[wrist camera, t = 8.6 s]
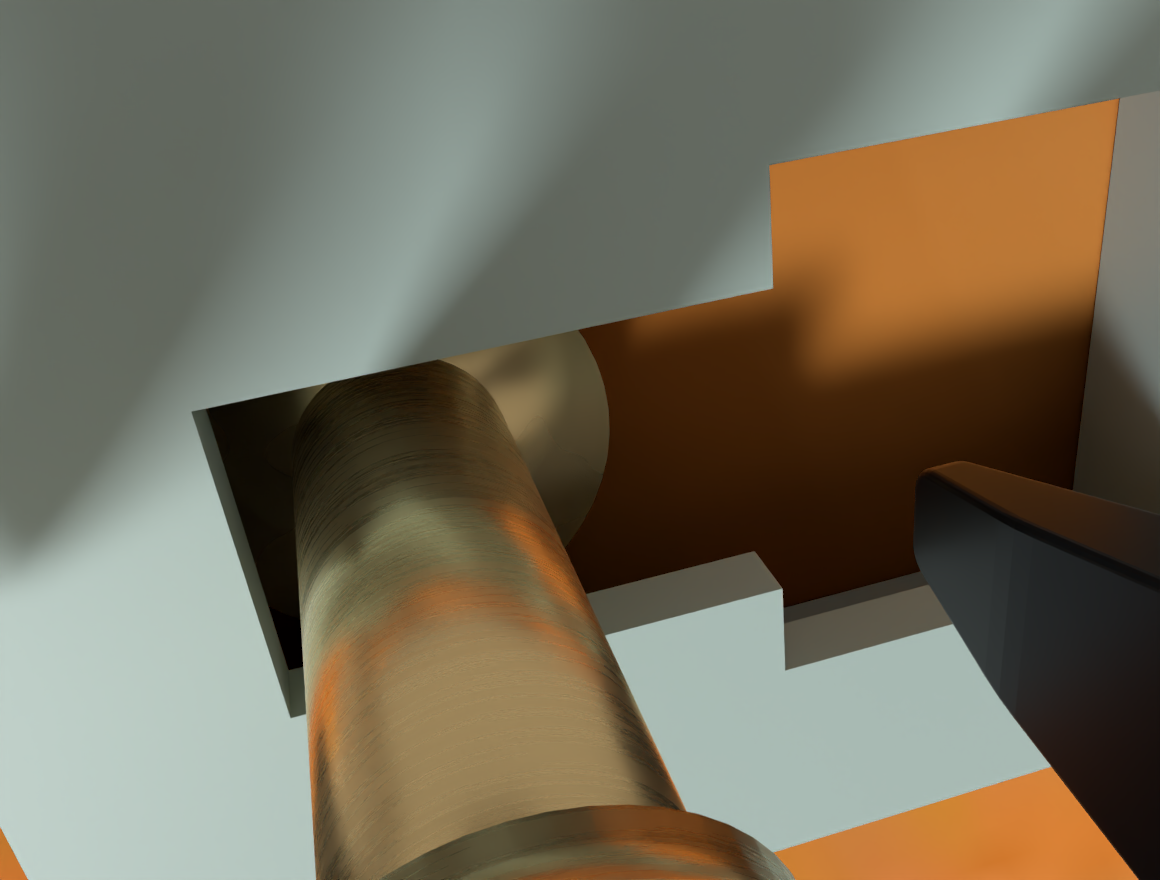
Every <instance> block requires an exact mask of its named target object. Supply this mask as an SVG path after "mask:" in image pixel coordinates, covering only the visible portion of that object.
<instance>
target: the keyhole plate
mask: <svg viewBox="0 0 1160 880" xmlns="http://www.w3.org/2000/svg"><path fill="white" fill-rule="evenodd" d="M1118 98H1120V102H1119V110H1118V118H1117V127H1116V135H1115V143H1114V152H1113V160H1112V168H1111V177H1110V185H1109V193H1108V201H1107V210H1106V218H1105V226H1104V235H1103V243H1102V251H1101V260H1100V268H1099V276H1098V284H1097V293H1096V301H1095V309H1094V318H1093V326H1092V334H1091V343H1090V351H1089V359H1088V368H1087V376H1086V384H1085V392H1084V401H1083V409H1082V417H1081V426H1080V434H1079V442H1078V451H1077V459H1076V467H1075V475H1074V484H1073V491H1076V492H1079V493H1083V494H1087V495H1090V496H1094V497H1098V498H1101V499H1105V500H1108V501H1112V502H1116V503H1119V504H1123V505H1127V506H1130V507H1134V508H1138V509H1141V510H1145V511H1148V512H1152V513H1156V514H1159V515H1160V0H0V827H1V829H2V831H3V833H4V835H5V837H6V839H7V841H8V842H9V844H10V846H11V848H12V850H13V852H14V854H15V856H16V858H17V859H18V861H19V863H20V865H21V867H22V869H23V871H24V873H25V875H26V876H27V878H28V880H316V871H315V854H314V837H313V820H312V803H311V787H310V770H309V753H308V736H307V719H306V702H305V686H304V669H303V667H300V668H296V669H292V670H288V667H287V664H286V661H285V657H284V654H283V651H282V648H281V645H280V642H279V638H278V635H277V632H276V629H275V626H274V623H273V619H272V616H271V613H270V610H269V607H268V604H267V600H266V597H265V594H264V591H263V588H262V585H261V581H260V578H259V575H258V572H257V569H256V566H255V562H254V559H253V556H252V553H251V550H250V547H249V543H248V540H247V537H246V534H245V531H244V528H243V524H242V521H241V518H240V515H239V512H238V509H237V505H236V502H235V499H234V496H233V493H232V490H231V487H230V483H229V480H228V477H227V474H226V471H225V468H224V464H223V461H222V458H221V455H220V452H219V449H218V445H217V442H216V439H215V436H214V433H213V430H212V426H211V423H210V420H209V417H208V414H207V411H206V408H211V407H216V406H220V405H225V404H230V403H235V402H239V401H244V400H249V399H253V398H258V397H263V396H268V395H272V394H277V393H282V392H286V391H291V390H296V389H301V388H305V387H310V386H315V385H320V384H324V383H329V382H334V381H338V380H343V379H348V378H353V377H357V376H362V375H367V374H371V373H376V372H381V371H386V370H390V369H395V368H400V367H404V366H409V365H414V364H419V363H423V362H428V361H433V360H437V359H442V358H447V357H452V356H456V355H461V354H466V353H470V352H475V351H480V350H485V349H489V348H494V347H499V346H503V345H508V344H513V343H518V342H522V341H527V340H532V339H536V338H541V337H546V336H551V335H555V334H560V333H565V332H569V331H574V330H579V329H584V328H588V327H593V326H598V325H603V324H607V323H612V322H617V321H621V320H626V319H631V318H636V317H640V316H645V315H650V314H654V313H659V312H664V311H669V310H673V309H678V308H683V307H687V306H692V305H697V304H702V303H706V302H711V301H716V300H720V299H725V298H730V297H735V296H739V295H744V294H749V293H753V292H758V291H763V290H768V289H772V288H773V269H772V238H771V206H770V175H769V165H772V164H777V163H783V162H788V161H793V160H798V159H804V158H809V157H814V156H819V155H825V154H830V153H835V152H840V151H846V150H851V149H856V148H861V147H867V146H872V145H877V144H882V143H887V142H893V141H898V140H903V139H908V138H914V137H919V136H924V135H929V134H935V133H940V132H945V131H950V130H956V129H961V128H966V127H971V126H977V125H982V124H987V123H992V122H998V121H1003V120H1008V119H1013V118H1018V117H1024V116H1029V115H1034V114H1039V113H1045V112H1050V111H1055V110H1060V109H1066V108H1071V107H1076V106H1081V105H1087V104H1092V103H1097V102H1102V101H1108V100H1113V99H1118ZM586 595H587V598H588V600H589V602H590V604H591V606H592V608H593V610H594V613H595V615H596V617H597V619H598V621H599V623H600V626H601V628H602V630H603V632H604V634H605V636H606V639H607V641H608V643H609V645H610V647H611V649H612V651H613V654H614V656H615V658H616V660H617V662H618V664H619V667H620V669H621V671H622V673H623V675H624V677H625V679H626V682H627V684H628V686H629V688H630V690H631V692H632V695H633V697H634V699H635V701H636V703H637V705H638V708H639V710H640V712H641V714H642V716H643V718H644V720H645V723H646V725H647V727H648V729H649V731H650V733H651V736H652V738H653V740H654V742H655V744H656V746H657V748H658V751H659V753H660V755H661V757H662V759H663V761H664V764H665V766H666V768H667V770H668V772H669V774H670V777H671V779H672V781H673V783H674V785H675V787H676V789H677V792H678V794H679V796H680V798H681V800H682V802H683V805H684V807H685V809H686V811H687V812H691V813H697V814H700V815H703V816H706V817H709V818H712V819H715V820H718V821H721V822H724V823H726V824H729V825H731V826H733V827H735V828H736V829H738V830H740V831H742V832H744V833H746V834H748V835H750V836H752V837H754V838H755V839H756V840H757V841H759V842H760V843H761V844H763V845H764V846H765V847H767V848H768V849H769V850H770V851H772V852H776V851H779V850H783V849H786V848H789V847H792V846H796V845H799V844H802V843H805V842H809V841H812V840H815V839H818V838H821V837H825V836H828V835H831V834H834V833H838V832H841V831H844V830H847V829H851V828H854V827H857V826H860V825H864V824H867V823H870V822H873V821H877V820H880V819H883V818H886V817H890V816H893V815H896V814H899V813H903V812H906V811H909V810H912V809H916V808H919V807H922V806H925V805H929V804H932V803H935V802H938V801H941V800H945V799H948V798H951V797H954V796H958V795H961V794H964V793H967V792H971V791H974V790H977V789H980V788H984V787H987V786H990V785H993V784H997V783H1000V782H1003V781H1006V780H1010V779H1013V778H1016V777H1019V776H1023V775H1026V774H1029V773H1032V772H1036V771H1039V770H1042V769H1045V768H1049V767H1051V766H1050V764H1049V763H1048V762H1047V760H1046V759H1045V758H1044V756H1043V755H1042V754H1041V753H1040V751H1039V750H1038V749H1037V747H1036V746H1035V745H1034V744H1033V742H1032V741H1031V740H1030V738H1029V737H1028V736H1027V734H1026V733H1025V732H1024V731H1023V729H1022V728H1021V727H1020V725H1019V724H1018V723H1017V722H1016V720H1015V719H1014V718H1013V716H1012V715H1011V714H1010V712H1009V711H1008V709H1007V708H1006V707H1005V705H1004V704H1003V703H1002V701H1001V700H1000V699H999V697H998V696H997V694H996V693H995V691H994V690H993V688H992V687H991V685H990V684H989V682H988V680H987V679H986V677H985V676H984V674H983V673H982V671H981V669H980V668H979V666H978V664H977V663H976V661H975V659H974V658H973V656H972V655H971V653H970V651H969V650H968V648H967V646H966V645H965V643H964V641H963V640H962V638H961V637H960V635H959V633H958V632H957V630H956V628H955V627H954V625H953V623H952V622H951V620H950V619H949V617H948V615H947V614H946V612H945V610H944V609H943V607H942V605H941V604H940V602H939V601H938V599H937V597H936V596H935V594H934V592H933V591H932V589H931V587H930V586H929V584H928V583H927V581H926V579H925V578H924V576H923V574H922V573H921V571H920V572H917V573H913V574H909V575H905V576H902V577H898V578H894V579H890V580H887V581H883V582H879V583H875V584H872V585H868V586H864V587H861V588H857V589H853V590H849V591H846V592H842V593H838V594H834V595H831V596H827V597H823V598H819V599H816V600H812V601H808V602H804V603H801V604H797V605H793V606H789V607H786V608H783V588H782V587H781V586H780V584H779V583H778V582H777V580H776V579H775V578H774V576H773V575H772V574H771V572H770V571H769V570H768V568H767V567H766V566H765V564H764V563H763V562H762V560H761V559H760V558H759V556H758V555H757V554H756V552H755V551H753V552H749V553H745V554H741V555H737V556H733V557H729V558H725V559H722V560H718V561H714V562H710V563H706V564H702V565H698V566H694V567H690V568H686V569H682V570H679V571H675V572H671V573H667V574H663V575H659V576H655V577H651V578H647V579H643V580H640V581H636V582H632V583H628V584H624V585H620V586H616V587H612V588H608V589H604V590H600V591H597V592H593V593H589V594H586Z"/></svg>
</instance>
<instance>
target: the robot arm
mask: <svg viewBox="0 0 1160 880" xmlns="http://www.w3.org/2000/svg"><path fill="white" fill-rule="evenodd" d="M913 549H914V555H915V559H916V562H917V564H918V567H919V569H920V571H921V573H922V574H923V576H924V578H925V579H926V581H927V583H928V584H929V586H930V587H931V589H932V591H933V592H934V594H935V596H936V597H937V599H938V601H939V602H940V604H941V605H942V607H943V609H944V610H945V612H946V614H947V615H948V617H949V619H950V620H951V622H952V623H953V625H954V627H955V628H956V630H957V632H958V633H959V635H960V637H961V638H962V640H963V641H964V643H965V645H966V646H967V648H968V650H969V651H970V653H971V655H972V656H973V658H974V659H975V661H976V663H977V664H978V666H979V668H980V669H981V671H982V673H983V674H984V676H985V677H986V679H987V680H988V682H989V684H990V685H991V687H992V688H993V690H994V691H995V693H996V694H997V696H998V697H999V699H1000V700H1001V701H1002V703H1003V704H1004V705H1005V707H1006V708H1007V709H1008V711H1009V712H1010V714H1011V715H1012V716H1013V718H1014V719H1015V720H1016V722H1017V723H1018V724H1019V725H1020V727H1021V728H1022V729H1023V731H1024V732H1025V733H1026V734H1027V736H1028V737H1029V738H1030V740H1031V741H1032V742H1033V744H1034V745H1035V746H1036V747H1037V749H1038V750H1039V751H1040V753H1041V754H1042V755H1043V756H1044V758H1045V759H1046V760H1047V762H1048V763H1049V764H1050V766H1051V767H1052V768H1053V769H1054V771H1055V772H1056V773H1057V775H1058V776H1059V777H1060V778H1061V780H1062V781H1063V782H1064V784H1065V785H1066V786H1067V787H1068V789H1069V790H1070V791H1071V793H1072V794H1073V795H1074V797H1075V798H1076V799H1077V800H1078V802H1079V803H1080V804H1081V806H1082V807H1083V808H1084V809H1085V811H1086V812H1087V813H1088V815H1089V816H1090V817H1091V819H1092V820H1093V821H1094V822H1095V824H1096V825H1097V826H1098V828H1099V829H1100V830H1101V831H1102V833H1103V834H1104V835H1105V837H1106V838H1107V839H1108V840H1109V842H1110V843H1111V844H1112V846H1113V847H1114V848H1115V850H1116V851H1117V852H1118V853H1119V855H1120V856H1121V857H1122V859H1123V860H1124V861H1125V862H1126V864H1127V865H1128V866H1129V868H1130V869H1131V870H1132V871H1133V873H1134V874H1135V875H1136V877H1137V878H1138V879H1139V880H1160V515H1159V514H1156V513H1152V512H1148V511H1145V510H1141V509H1138V508H1134V507H1130V506H1127V505H1123V504H1119V503H1116V502H1112V501H1108V500H1105V499H1101V498H1098V497H1094V496H1090V495H1087V494H1083V493H1079V492H1076V491H1072V490H1068V489H1065V488H1061V487H1058V486H1054V485H1050V484H1047V483H1043V482H1039V481H1036V480H1032V479H1028V478H1025V477H1021V476H1018V475H1014V474H1010V473H1007V472H1003V471H999V470H996V469H992V468H988V467H985V466H981V465H978V464H974V463H970V462H966V461H955V462H951V463H947V464H944V465H940V466H936V467H932V468H928V469H925V470H923V471H922V472H921V473H920V474H919V476H918V478H917V480H916V486H915V503H914V529H913Z"/></svg>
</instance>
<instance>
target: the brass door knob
mask: <svg viewBox="0 0 1160 880" xmlns="http://www.w3.org/2000/svg"><path fill="white" fill-rule="evenodd" d="M206 411H207V414H208V417H209V420H210V423H211V426H212V430H213V433H214V436H215V439H216V442H217V445H218V449H219V452H220V455H221V458H222V461H223V464H224V468H225V471H226V474H227V477H228V480H229V483H230V487H231V490H232V493H233V496H234V499H235V502H236V505H237V509H238V512H239V515H240V518H241V521H242V524H243V528H244V531H245V534H246V537H247V540H248V543H249V547H250V550H251V553H252V556H253V559H254V562H255V566H256V569H257V572H258V575H259V578H260V581H261V585H262V588H263V591H264V594H265V597H266V600H267V604H268V605H269V606H271V607H273V608H274V609H276V610H278V611H280V612H282V613H284V614H286V615H289V616H292V617H294V618H297V619H300V620H301V635H302V652H303V669H304V686H305V702H306V719H307V736H308V753H309V770H310V787H311V803H312V820H313V837H314V854H315V871H316V880H795V878H794V877H793V875H792V873H791V872H790V871H789V869H788V868H787V867H786V866H785V865H784V864H783V863H782V862H781V860H780V859H779V858H778V857H777V856H776V855H775V854H774V853H773V852H772V851H770V850H769V849H768V848H767V847H765V846H764V845H763V844H761V843H760V842H759V841H757V840H756V839H755V838H754V837H752V836H750V835H748V834H746V833H744V832H742V831H740V830H738V829H736V828H735V827H733V826H731V825H729V824H726V823H724V822H721V821H718V820H715V819H712V818H709V817H706V816H703V815H700V814H697V813H691V812H687V811H686V809H685V807H684V805H683V802H682V800H681V798H680V796H679V794H678V792H677V789H676V787H675V785H674V783H673V781H672V779H671V777H670V774H669V772H668V770H667V768H666V766H665V764H664V761H663V759H662V757H661V755H660V753H659V751H658V748H657V746H656V744H655V742H654V740H653V738H652V736H651V733H650V731H649V729H648V727H647V725H646V723H645V720H644V718H643V716H642V714H641V712H640V710H639V708H638V705H637V703H636V701H635V699H634V697H633V695H632V692H631V690H630V688H629V686H628V684H627V682H626V679H625V677H624V675H623V673H622V671H621V669H620V667H619V664H618V662H617V660H616V658H615V656H614V654H613V651H612V649H611V647H610V645H609V643H608V641H607V639H606V636H605V634H604V632H603V630H602V628H601V626H600V623H599V621H598V619H597V617H596V615H595V613H594V610H593V608H592V606H591V604H590V602H589V600H588V598H587V595H586V593H585V591H584V589H583V587H582V585H581V582H580V580H579V578H578V576H577V574H576V572H575V570H574V567H573V565H572V563H571V561H570V559H569V557H568V554H567V552H566V550H565V547H566V546H567V545H568V544H569V542H570V541H571V539H572V538H573V536H574V535H575V534H576V532H577V531H578V529H579V528H580V527H581V525H582V523H583V521H584V520H585V518H586V516H587V514H588V512H589V510H590V508H591V506H592V505H593V502H594V500H595V497H596V495H597V492H598V489H599V487H600V484H601V481H602V478H603V473H604V469H605V465H606V461H607V456H608V446H609V436H610V429H609V408H608V403H607V397H606V392H605V387H604V383H603V380H602V377H601V374H600V371H599V368H598V366H597V363H596V360H595V359H594V357H593V355H592V353H591V351H590V349H589V347H588V345H587V343H586V341H585V339H584V338H583V336H582V335H581V334H580V332H579V331H578V330H574V331H569V332H565V333H560V334H555V335H551V336H546V337H541V338H536V339H532V340H527V341H522V342H518V343H513V344H508V345H503V346H499V347H494V348H489V349H485V350H480V351H475V352H470V353H466V354H461V355H456V356H452V357H447V358H442V359H437V360H433V361H428V362H423V363H419V364H414V365H409V366H404V367H400V368H395V369H390V370H386V371H381V372H376V373H371V374H367V375H362V376H357V377H353V378H348V379H343V380H338V381H334V382H329V383H324V384H320V385H315V386H310V387H305V388H301V389H296V390H291V391H286V392H282V393H277V394H272V395H268V396H263V397H258V398H253V399H249V400H244V401H239V402H235V403H230V404H225V405H220V406H216V407H211V408H206Z"/></svg>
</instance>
